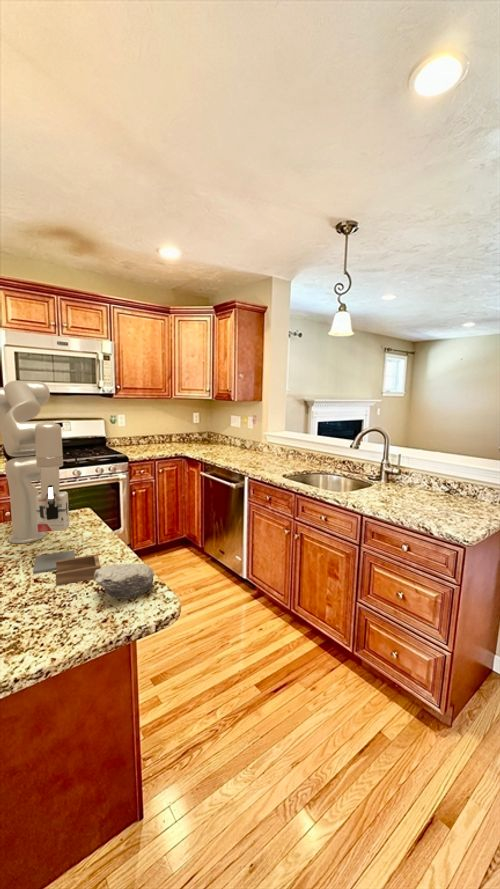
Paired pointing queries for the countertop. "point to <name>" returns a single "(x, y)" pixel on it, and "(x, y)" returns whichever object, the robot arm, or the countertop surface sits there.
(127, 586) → the rock
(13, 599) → the countertop surface
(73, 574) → the cradle
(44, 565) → the mat
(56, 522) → the ink box
